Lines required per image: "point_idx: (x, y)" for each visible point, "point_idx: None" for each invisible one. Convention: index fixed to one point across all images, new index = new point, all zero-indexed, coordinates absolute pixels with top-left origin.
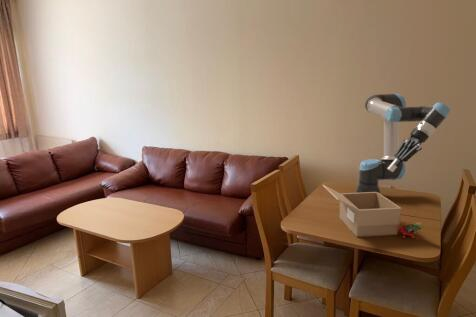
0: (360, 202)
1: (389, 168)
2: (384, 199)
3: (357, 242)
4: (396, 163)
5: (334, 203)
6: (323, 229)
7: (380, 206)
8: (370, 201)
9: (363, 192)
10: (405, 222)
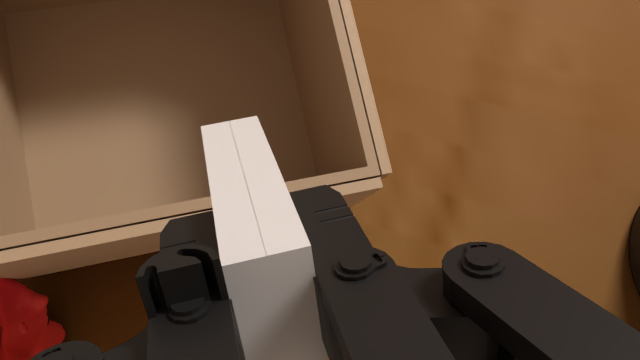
0: (318, 61)
1: (204, 132)
2: None
3: None
4: (184, 242)
5: (516, 5)
6: None
7: None
8: (337, 139)
9: (361, 53)
10: (20, 327)
